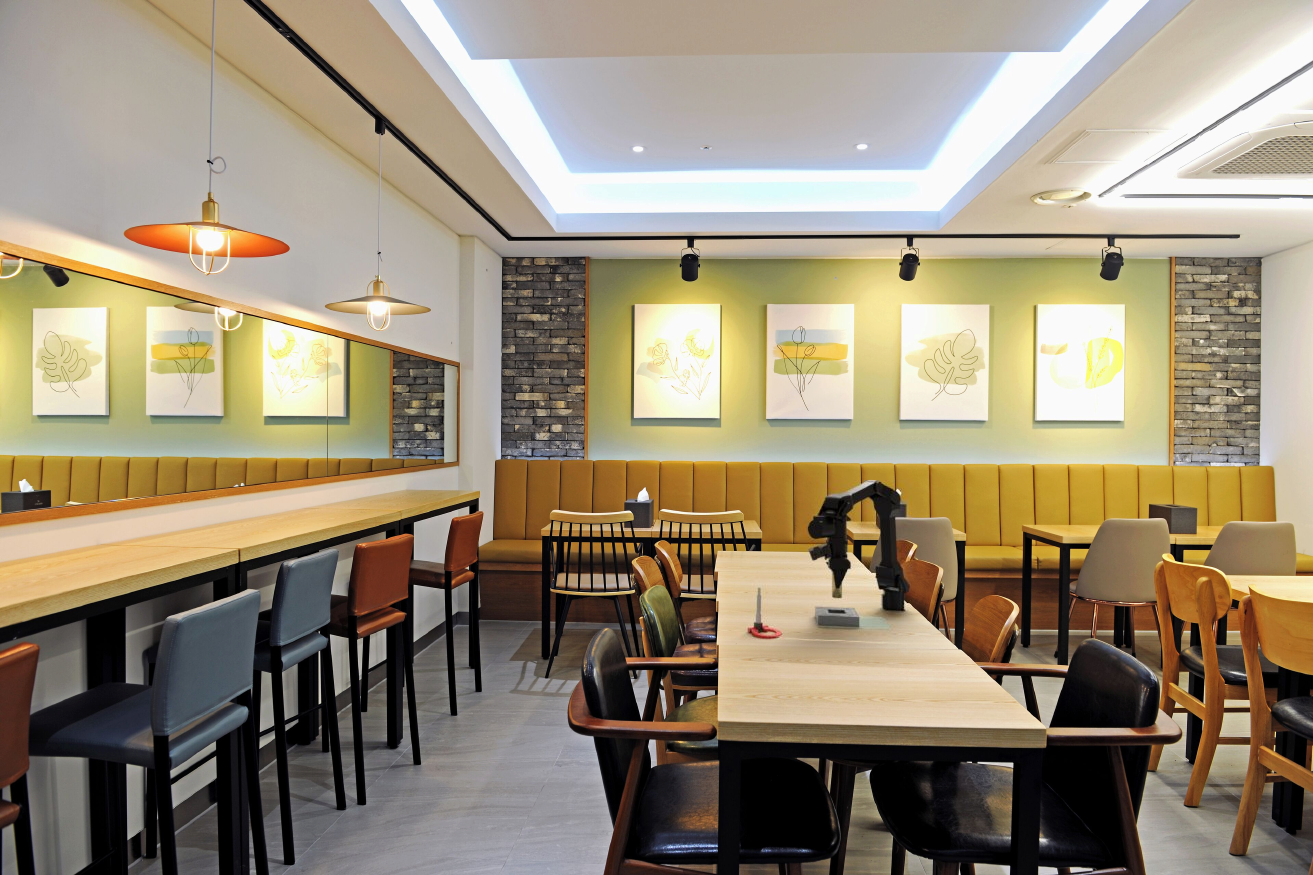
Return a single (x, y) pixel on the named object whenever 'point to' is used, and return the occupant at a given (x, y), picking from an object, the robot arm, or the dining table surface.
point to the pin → (836, 592)
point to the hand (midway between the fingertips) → (836, 587)
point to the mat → (868, 623)
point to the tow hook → (759, 625)
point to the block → (836, 616)
